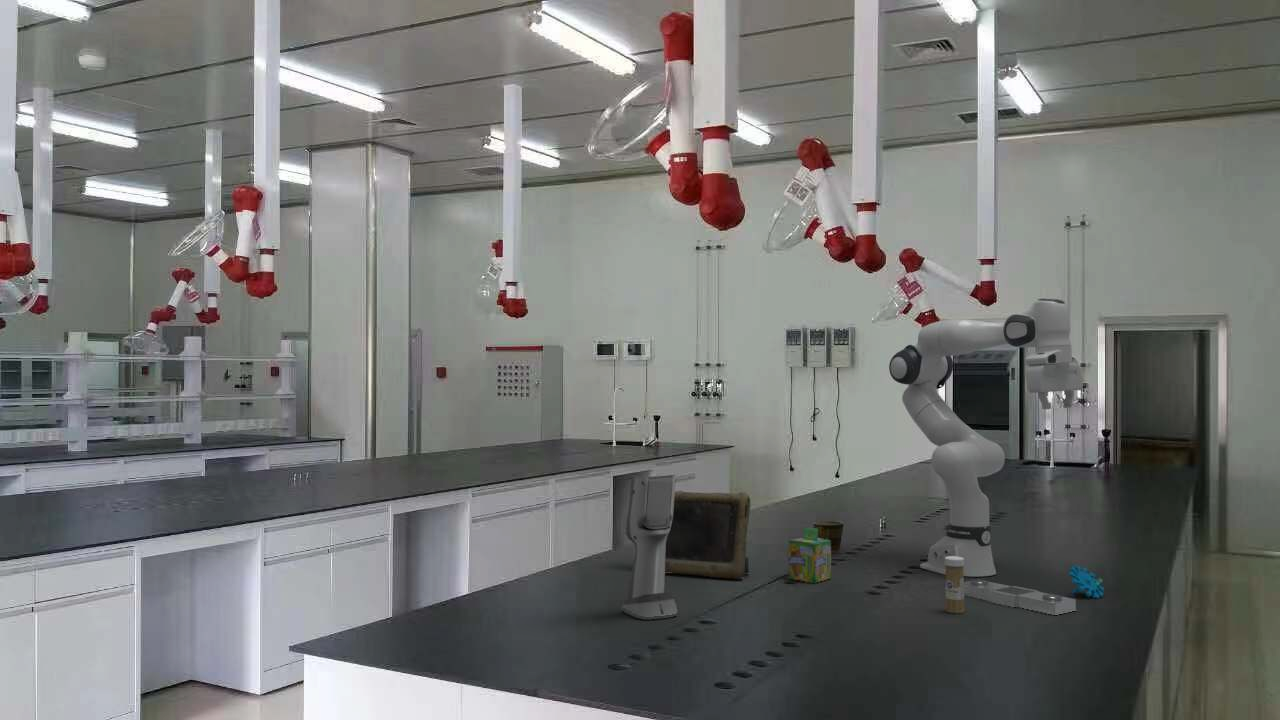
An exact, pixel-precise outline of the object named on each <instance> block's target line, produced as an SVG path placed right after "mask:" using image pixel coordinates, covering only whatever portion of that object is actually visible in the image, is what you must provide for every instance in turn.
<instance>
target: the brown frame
mask: <svg viewBox="0 0 1280 720" xmlns="http://www.w3.org/2000/svg"><path fill="white" fill-rule="evenodd" d="M750 508H751V497H750V496H749V494H748V493H747V492H746V491H740V492H737V493H731V492H730V493H728V492H727V493H726V492H691V491H682V490H678V491H677V490H675V496H674V511H673V519H672V524H671V529H670V531H669V534H668V536H667V539H666V552H665V572H672V573H682V574H681V575H691V574H692V575H691V576H693V575H694V576H699V575H702V576H701V577H707V576H713V577H712V578H720V577H722V578H721V579H729V578H734V579H733V580H735V579H738V580H742V579H741V578H742V577H744V578H745V575H746V573H749V557H748V556H746V553H747V534H748V525H749V518H750V517H749V516H750Z"/></svg>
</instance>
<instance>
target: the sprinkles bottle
mask: <svg viewBox="0 0 1280 720" xmlns="http://www.w3.org/2000/svg"><path fill="white" fill-rule="evenodd" d="M945 567H946V575H945V611H946V612H947V613H951V614H963V613H965V596H964V582H965V580H964V579H965V578H964V577H965V576H964V575H963V567H964V558H962V557H957V556H948V557H945Z"/></svg>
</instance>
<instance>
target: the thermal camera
mask: <svg viewBox="0 0 1280 720" xmlns="http://www.w3.org/2000/svg"><path fill="white" fill-rule="evenodd" d="M676 479H677V478H676V475H674V474H671V475H667V474H666V475H659V476H658V475H657V476H639V477H632V478H631V480H630V488H629V489H630V491H629V501H628V508H627V509H628V510H627V517H626V524H625V525H626V526H625V535H626V537H627V539H628V540H629V541H631V542H632V543H633V544H634V545H635V555H634V560H633V565H632V570H631V575H630V580H629V585H628V594H627V595H628V596H627V600H626V601H624V602H623V604H621V608H622V607H623V608H626V609H627V610H629V611H631V612H632V613H634V614H637V615H639V616H644V617H654V616H665V615H672V614H676V613H677V612H678V609H677V608H678V607H677V604H676V602H675V601H676V600H675V599H674V597H673V595H672V594H671V593H669V592H665V576H666V573H665V552H666V539H667V536H668V534H669V531H670V529H671V524H672V519H673V511H674V496H675V491H676Z"/></svg>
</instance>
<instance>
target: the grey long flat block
mask: <svg viewBox="0 0 1280 720" xmlns="http://www.w3.org/2000/svg"><path fill="white" fill-rule="evenodd" d="M964 597H969V598H972V597H973V598H974V599H977V600H981V599H982V601H987V602H989V603H990V602H991V603H990V604H995V603H996V605H999V604H1001V605H1000V606H1004V605H1005V606H1004V607H1008V606H1010V607H1009V608H1013V607H1016V608H1017V607H1019V608H1018V609H1022V608H1024V609H1023V610H1026V609H1029V610H1028V611H1031V610H1034V611H1033V612H1035V611H1039V612H1038V613H1040V612H1043V613H1042V614H1044V613H1047V614H1046V615H1048V614H1052V615H1051V616H1053V615H1058V616H1060V615H1059V614H1063V613H1067V612H1072V611H1077V608H1076V607H1077V604H1076V603H1077V602H1076V601H1077V600H1076V598H1072V597H1071V598H1070V597H1066V596H1061V595H1058V594H1053V593H1052V594H1051V593H1047V592H1042V591H1039V590H1036V589H1030V588H1025V587H1022V586H1021V587H1020V586H1016V585H1013V586H1011V585H1006V584H1003V583H1002V584H1001V583H998V582H992V581H988V580H984V579H971V580H966V581H964ZM1020 607H1021V608H1020ZM1072 613H1073V612H1072ZM1067 614H1068V613H1067ZM1063 615H1064V614H1063Z"/></svg>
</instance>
